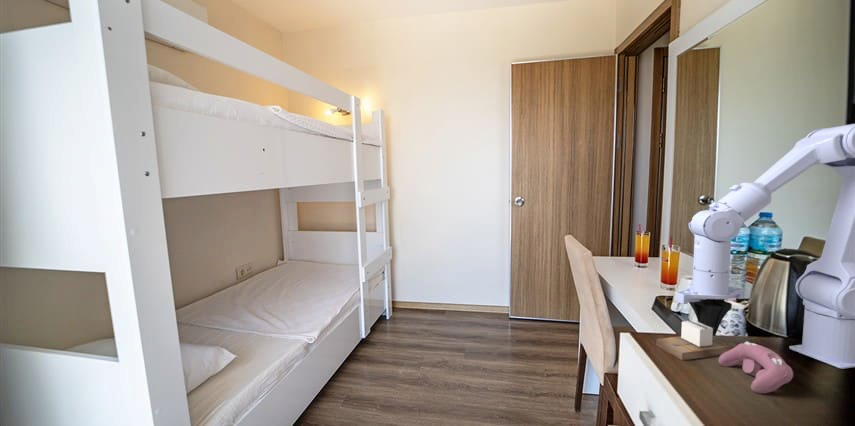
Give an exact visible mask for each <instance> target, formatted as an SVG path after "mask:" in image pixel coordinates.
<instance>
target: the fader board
mask: <svg viewBox="0 0 855 426" xmlns="http://www.w3.org/2000/svg"><path fill="white" fill-rule="evenodd" d="M655 342H656V345H655V346H656V347H657V346H658V347H657V348H659V349H661V350H663V351H664V352H666V353H668V354H670V355H672V356H674V357H675V358H677V359H679V360H680V361H686V360H695V359H702V358H709V357H717V356H721V355H722V354H723V353H725V352H727V351H729V350H731V349H733V348H734V347H736V346H737V345H738V344H736V343H733V342H731V341H729V340H726V339H724V338H722V337H719V336H716V335H715V336H713V337H712V345H709V346H701V347H699V346H697V345H695V344H693V343H691V342H689V341H687V340H685V339H683V338H681V335H680V336H671V337H664V338H656V341H655Z"/></svg>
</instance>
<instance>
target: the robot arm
mask: <svg viewBox="0 0 855 426" xmlns="http://www.w3.org/2000/svg"><path fill="white" fill-rule="evenodd" d="M818 165H823V166H825V167H827V168H829V169H832V170H833V171H834V172H836V173H837V174H838V175H839V176H840V177H841V178H842V179H843V181H842V185H841V188H840V192H839V194H838V199H837V202H836V205H835V208H834V212H833V216H832V218H831V221H830V226H829V228H828V233H827V236H826V240H825V243H824V245H823V249H822V252H821V256H820V258H819V259H817V260H815V261H812V262H811V263H809V264H807V265H806V269H805V271H804V273H803V274H802V275H801V276H799V278H798V279H797V280H796V282H795V292H796V293H797V295H798V296H799V298H801V299H802V305H803V306H804V313H803V314H804V316H803V329H802V330H803V331H802V342H801V344H796V345H789V349H790V350H792V351H794V352H798V353H799V354H802V355H805V356H807V357H810V358H812V359H815V360H817V361H820V362H823V363H824V364H828V365H830V366H834V367H835V368H837V369H843V370H844V369H850V368H855V123H850V124H844V125H839V126H834V127H822V128H818V129H815V130H813V131H811V132H810V133H808V134H807V135H806V136H805V137H803V138H801V139H800V140H798V141H797V142H796V143H795V145H794V147H793V148H792V149H791V150H789V151H788V152H787V153H786V154H785V155H784V156H783V157H781V158H780V159H779V160H778V161H777V162H775V163H774V164H773V165H772V166H771V167H770V168H769V169H767V170H766V171H765V172H764V173H763V174H761V175H760V176H759V177H758V178H757V179H755V180H754V181H753V182H741V183H740V184H733V185H732V186H731V187H729V191H730V192H728V193H727V194H726V195H724V196H723V197H721V198H720V199H719V200H718V201H717V202H712V203H711V204H709V205H708V207H709V208H708V209H704V210H701V211H698V212H697V213H696V214H694V215H693V216H692V218H691V221H689V222H688V229H689V231H690V232H691V233H692V235H693V237H694V239H693V240H694V244H693V258H692V259H693V262H692V265H693V266H692V284H689V285H688V288H687V289H683V290H681V291H675V293H674V295H675V296H674V301H675V302H676V303H680V304H681V305H687V304H688V303H689V305H690V306H691V308H692V310H693V312H694V313H695V315H696V319H697V322H699V323H702V324H704V325H706V326H709V327H711V328H713V336H716V335H717V332H718V330H719V327H720V325H721V324H722V322H723V319H724V317H725V316H726V315H727V313H729V311H730V310H732V308H733V307H732V303H731V302H729V301H725V300H728V299H740V300H741V299H744V298H745V289H744V288H742V287H741V288H740V287H738V286H737V287H736V286H730V270H731V251H732V239H733V238H736V237H737V236H739V233H740V231H741V228H742V227H741V226H742V225H743V224H744V223H745V222H747V221H749V219H751V218H752V217H753V216H755V215H756V214H757V213H759V212H760V211H762V210H763V209H764V208H765V207H767V206H768V205H770V204H771V203H772V194H773V193H774V192H776V191H778V190H779V189H781V188H782V187H783V186H785V185H786V184H788V183H790V182H791V181H793V180H794V179H795V178H797V177H798V176H800V175H801V174H803V173H804V172H806V171H808V170H809V169H810V168H812V167H814V166H818Z"/></svg>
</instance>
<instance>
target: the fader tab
mask: <svg viewBox="0 0 855 426" xmlns="http://www.w3.org/2000/svg"><path fill="white" fill-rule="evenodd" d="M680 331H681V335H680V336H681V338H683V339H685V340H687V341H689V342H691V343H693V344H695V345H697V346H699V347H701V346H709V345H712V337H713V328H711V327H709V326H706V325H704V324H702V323H699V322H698V320H697V321H696V320H695V319H694V320H690V319H687V320H686V321H681V330H680Z"/></svg>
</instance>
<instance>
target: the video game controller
mask: <svg viewBox="0 0 855 426" xmlns="http://www.w3.org/2000/svg"><path fill="white" fill-rule="evenodd" d="M736 345H737V346H736V347H734V348H733V349H731V350H729V351H727V352H725V353H723V354H722V355H719V357H718V361H717V362H718V363H719V365H720V366H722V367H727V368H728V367H733V366H737V365H740V364H742V371H743V372H744V373H745V374H748V375H750V376H753V377H755V379H754V380H753V381H752V382H751V384H750V389H751V390H752V392H754V393H755V394H767V393H772V392H773V391H776V390H778V389H779V388H781V386H783V385H785V384H789V382H791V381H792V379H793V378H794V370H793V369H792V367H791V366H790V365H788V364H787V363H786V361H785V359H783V358H782V357H781V356H780V355H779V354H778V353H777V352H775V351H774V350H772V349H770V348H768V347H765V346H764V345H760V344H756V343H755V342H754V343H753V342H750V341H745V342H744V343H743V342H741V343H739V344H736ZM761 367H763V368H762V369H761Z"/></svg>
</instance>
